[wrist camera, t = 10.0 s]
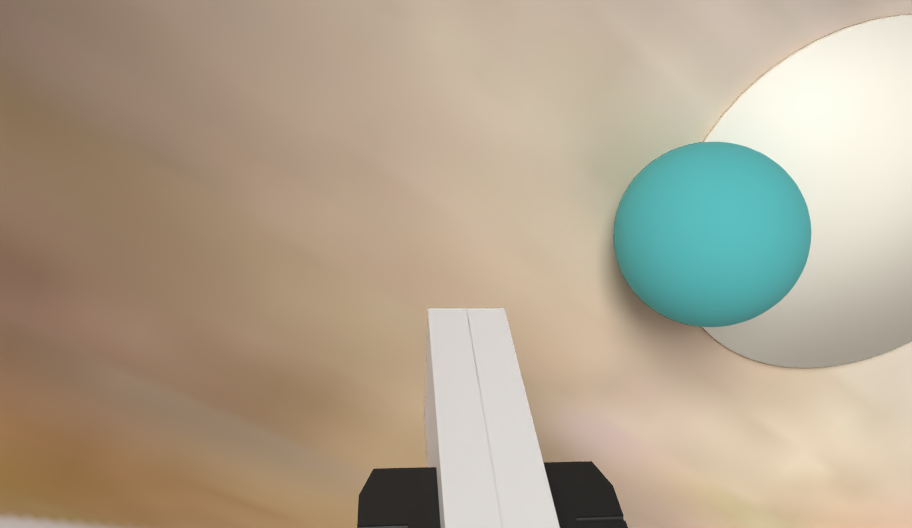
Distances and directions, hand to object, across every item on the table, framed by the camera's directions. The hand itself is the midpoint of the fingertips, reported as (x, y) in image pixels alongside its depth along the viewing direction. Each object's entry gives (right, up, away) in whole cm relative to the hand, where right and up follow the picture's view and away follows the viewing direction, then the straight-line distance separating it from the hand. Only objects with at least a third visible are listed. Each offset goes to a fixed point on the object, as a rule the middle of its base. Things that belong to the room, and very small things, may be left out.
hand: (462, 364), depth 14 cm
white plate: (+14, +4, +10) cm, 17 cm away
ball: (+7, +3, +7) cm, 10 cm away
